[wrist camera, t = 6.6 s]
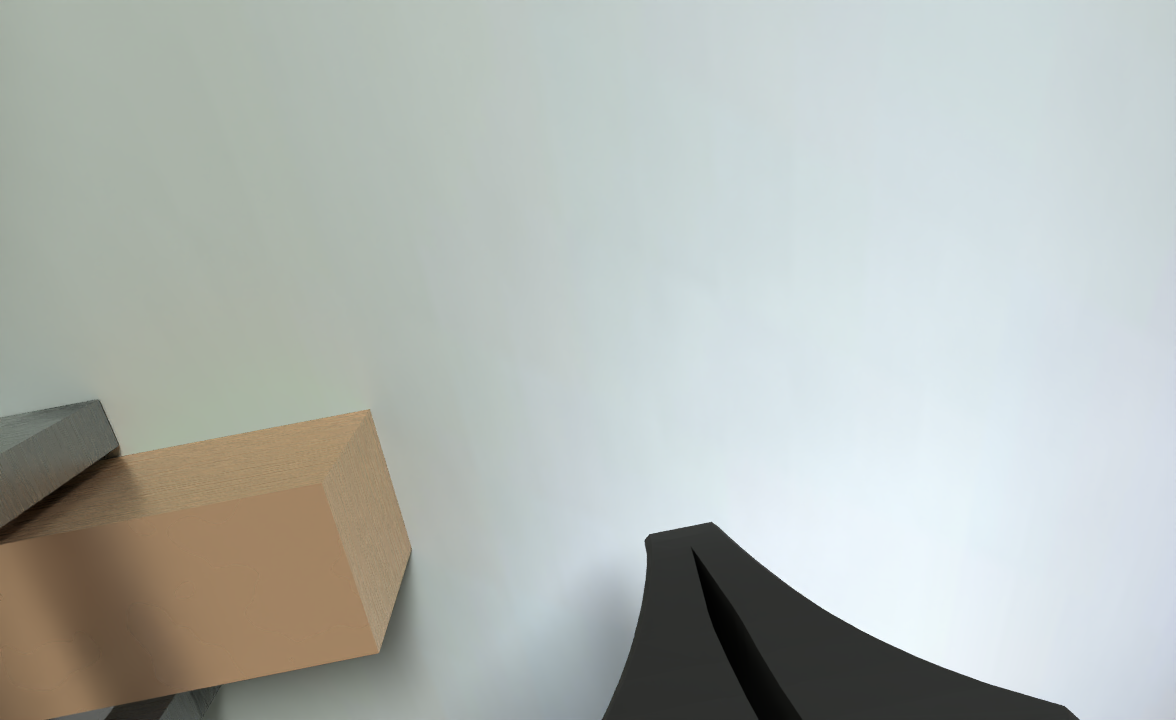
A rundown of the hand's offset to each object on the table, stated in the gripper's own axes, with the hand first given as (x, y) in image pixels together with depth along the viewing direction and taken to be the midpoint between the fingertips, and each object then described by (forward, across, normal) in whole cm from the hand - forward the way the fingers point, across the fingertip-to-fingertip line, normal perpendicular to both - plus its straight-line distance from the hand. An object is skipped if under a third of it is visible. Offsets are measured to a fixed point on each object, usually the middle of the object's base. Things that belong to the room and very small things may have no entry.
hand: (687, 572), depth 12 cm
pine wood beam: (+5, +14, -1) cm, 14 cm away
